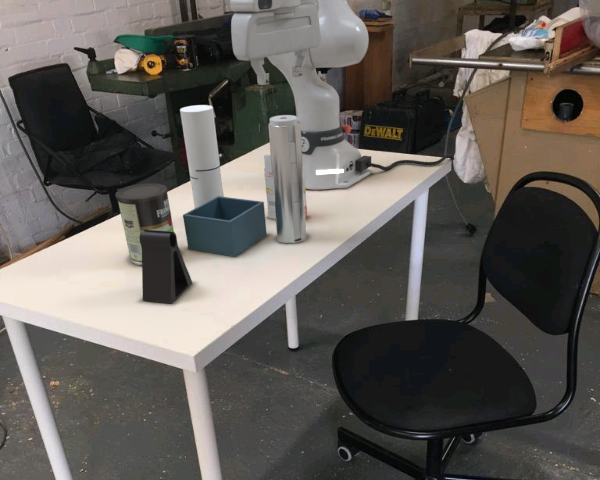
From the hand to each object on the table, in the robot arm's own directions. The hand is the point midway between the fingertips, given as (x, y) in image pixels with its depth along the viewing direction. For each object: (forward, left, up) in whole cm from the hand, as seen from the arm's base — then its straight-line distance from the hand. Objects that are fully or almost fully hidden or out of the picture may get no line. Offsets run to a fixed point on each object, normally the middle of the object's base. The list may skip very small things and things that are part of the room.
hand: (281, 80), depth 124 cm
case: (+10, -10, -32) cm, 35 cm away
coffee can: (+25, -17, -32) cm, 44 cm away
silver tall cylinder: (0, 0, -32) cm, 32 cm away
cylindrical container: (+3, -24, -32) cm, 40 cm away
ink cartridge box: (-9, -10, -32) cm, 35 cm away
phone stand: (+34, 0, -32) cm, 47 cm away
